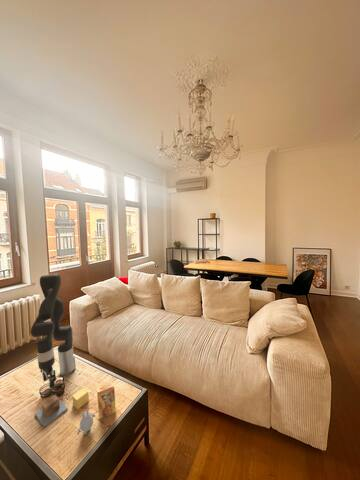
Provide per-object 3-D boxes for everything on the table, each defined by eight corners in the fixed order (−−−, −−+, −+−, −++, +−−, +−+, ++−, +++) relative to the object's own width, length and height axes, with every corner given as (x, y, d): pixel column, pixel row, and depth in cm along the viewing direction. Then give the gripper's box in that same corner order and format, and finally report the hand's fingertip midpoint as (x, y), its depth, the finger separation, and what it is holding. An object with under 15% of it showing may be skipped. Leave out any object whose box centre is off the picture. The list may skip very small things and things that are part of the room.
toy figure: (91, 419, 110) (89, 399, 109) (99, 424, 108) (97, 404, 106) (73, 439, 101) (71, 417, 99) (82, 444, 98) (80, 422, 97)
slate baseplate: (57, 399, 123) (57, 397, 123) (67, 409, 116) (67, 408, 116) (35, 415, 114) (35, 413, 114) (44, 427, 107) (43, 425, 107)
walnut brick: (55, 403, 119) (54, 394, 119) (59, 408, 116) (58, 398, 116) (42, 413, 114) (41, 403, 113) (46, 418, 111) (45, 408, 110)
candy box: (115, 406, 118) (113, 382, 116) (116, 412, 114) (114, 388, 112) (98, 413, 114) (96, 388, 112) (99, 420, 110) (97, 394, 108)
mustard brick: (84, 396, 125) (83, 387, 125) (88, 400, 122) (88, 391, 122) (73, 405, 120) (72, 395, 119) (77, 409, 117) (76, 400, 116)
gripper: (59, 357, 110) (62, 384, 112) (48, 348, 119) (50, 373, 121) (43, 366, 104) (46, 394, 106) (33, 355, 113) (36, 382, 114)
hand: (49, 383), depth 113 cm, fingers open, 8 cm apart
